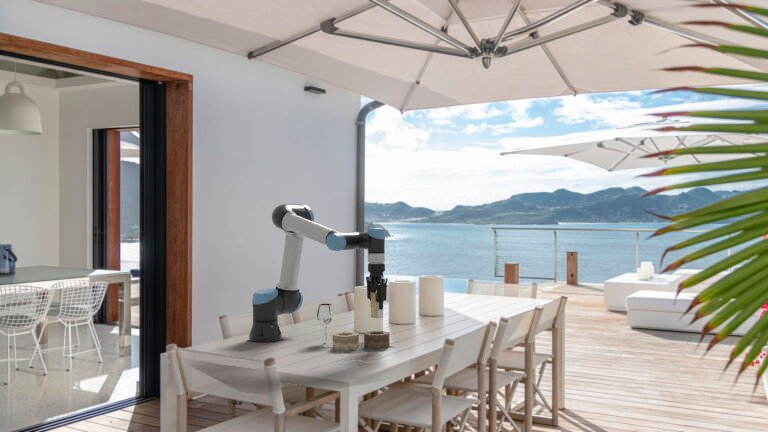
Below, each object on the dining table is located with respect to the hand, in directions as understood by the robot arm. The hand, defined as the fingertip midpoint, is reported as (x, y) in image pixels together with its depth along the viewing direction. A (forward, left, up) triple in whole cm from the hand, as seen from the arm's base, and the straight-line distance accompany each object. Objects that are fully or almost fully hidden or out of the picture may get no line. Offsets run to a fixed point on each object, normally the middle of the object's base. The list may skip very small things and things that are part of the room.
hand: (376, 316), depth 293 cm
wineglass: (-13, +22, -14) cm, 29 cm away
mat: (-6, +3, -14) cm, 16 cm away
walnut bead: (0, 0, -14) cm, 14 cm away
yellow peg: (0, 0, -1) cm, 1 cm away
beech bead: (-13, +6, -14) cm, 19 cm away
